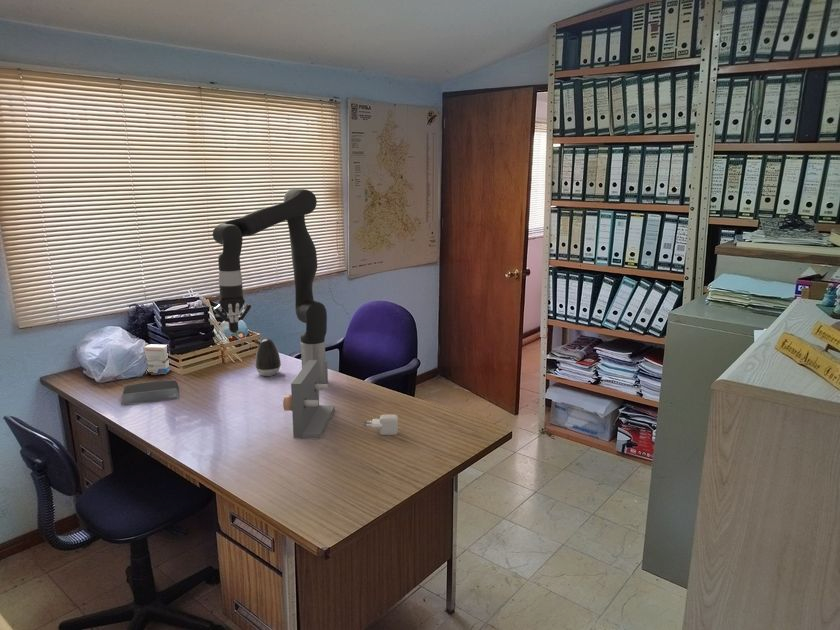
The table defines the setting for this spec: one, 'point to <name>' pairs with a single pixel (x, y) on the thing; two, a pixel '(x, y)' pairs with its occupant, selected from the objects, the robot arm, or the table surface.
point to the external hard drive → (150, 392)
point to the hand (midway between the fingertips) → (234, 332)
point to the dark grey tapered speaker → (267, 358)
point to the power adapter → (385, 424)
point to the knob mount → (308, 417)
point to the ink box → (157, 358)
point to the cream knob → (321, 386)
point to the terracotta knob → (288, 403)
